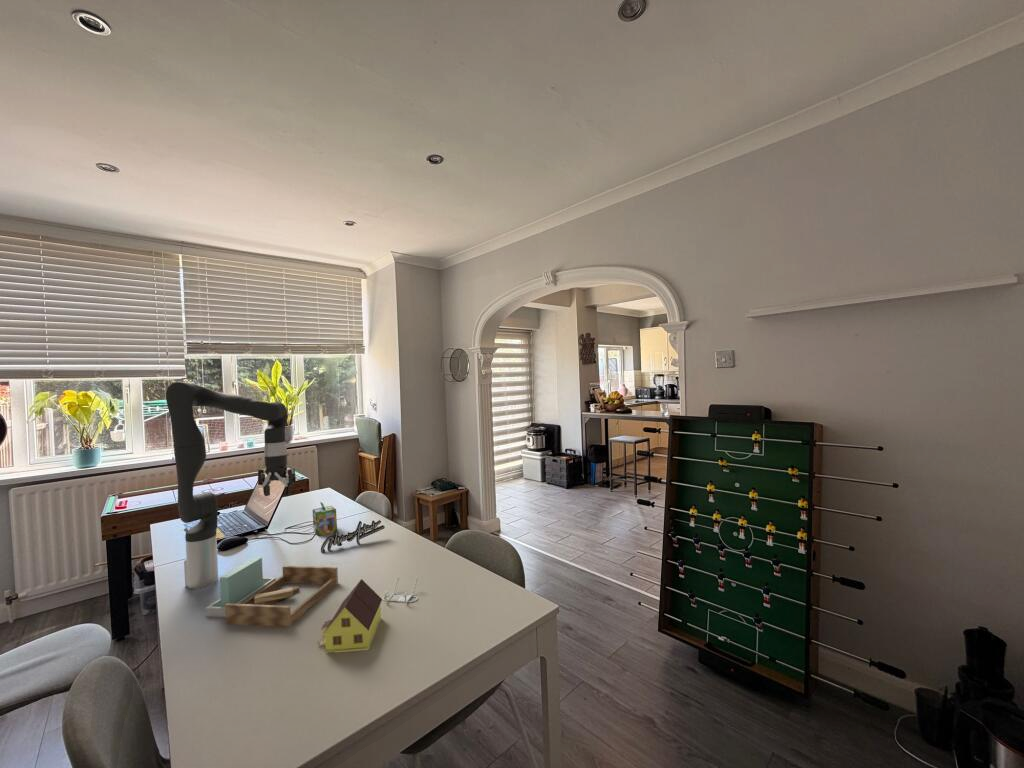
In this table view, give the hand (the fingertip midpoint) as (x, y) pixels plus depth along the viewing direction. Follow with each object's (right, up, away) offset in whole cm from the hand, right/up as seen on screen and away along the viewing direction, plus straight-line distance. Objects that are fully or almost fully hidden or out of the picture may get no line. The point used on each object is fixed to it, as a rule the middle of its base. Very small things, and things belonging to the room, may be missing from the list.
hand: (277, 495), depth 162 cm
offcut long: (+10, -31, -22) cm, 39 cm away
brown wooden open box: (+15, -30, -22) cm, 40 cm away
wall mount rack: (+54, -29, -21) cm, 64 cm away
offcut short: (+11, -28, -22) cm, 37 cm away
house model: (+45, -30, -41) cm, 68 cm away
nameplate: (+21, -29, +26) cm, 44 cm away
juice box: (-1, -30, +44) cm, 53 cm away
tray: (-1, -30, -20) cm, 36 cm away
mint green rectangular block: (-1, -30, -20) cm, 36 cm away
